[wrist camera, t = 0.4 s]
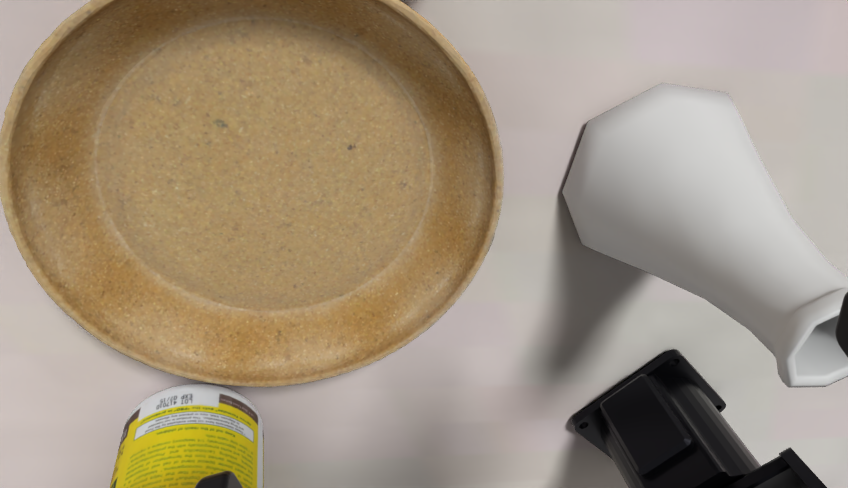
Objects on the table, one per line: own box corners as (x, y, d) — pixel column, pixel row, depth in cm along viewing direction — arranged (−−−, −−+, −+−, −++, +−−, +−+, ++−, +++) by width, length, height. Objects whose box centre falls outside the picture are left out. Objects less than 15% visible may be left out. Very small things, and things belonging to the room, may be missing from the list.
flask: (557, 262, 26) (692, 464, 17) (560, 99, 21) (740, 266, 13) (717, 226, 26) (917, 404, 18) (751, 61, 22) (1029, 198, 14)
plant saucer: (-58, 226, 19) (-97, 275, 17) (190, -198, 15) (178, -201, 13) (320, 386, 27) (325, 434, 25) (561, 135, 22) (592, 167, 20)
